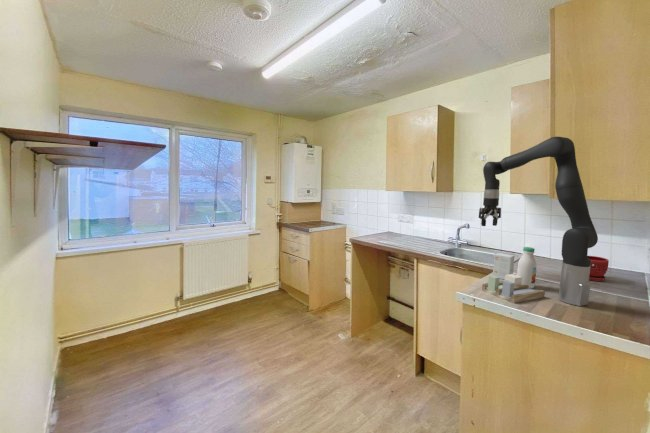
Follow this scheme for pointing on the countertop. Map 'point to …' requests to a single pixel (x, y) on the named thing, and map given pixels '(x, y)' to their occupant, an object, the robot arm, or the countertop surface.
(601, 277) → the plant pot
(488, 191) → the robot arm
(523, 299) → the lane board
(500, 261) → the small box
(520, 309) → the countertop surface
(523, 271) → the milk bottle
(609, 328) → the countertop surface
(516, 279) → the block
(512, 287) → the slat grey
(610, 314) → the countertop surface
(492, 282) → the pale green bracket
